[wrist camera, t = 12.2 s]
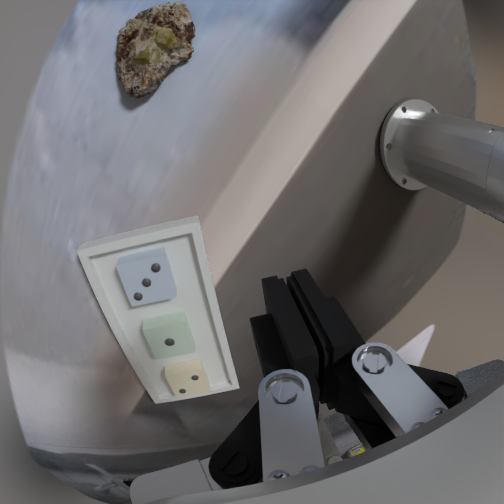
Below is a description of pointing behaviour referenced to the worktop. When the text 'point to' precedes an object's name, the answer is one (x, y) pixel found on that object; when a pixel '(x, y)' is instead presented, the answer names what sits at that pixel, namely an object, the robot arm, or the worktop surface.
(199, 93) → the worktop surface
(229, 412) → the worktop surface
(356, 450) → the supplement bottle
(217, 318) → the key panel
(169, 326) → the key one dot
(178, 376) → the key two dots
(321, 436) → the geiger counter
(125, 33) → the mineral rock
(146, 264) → the key three dots
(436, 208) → the worktop surface
